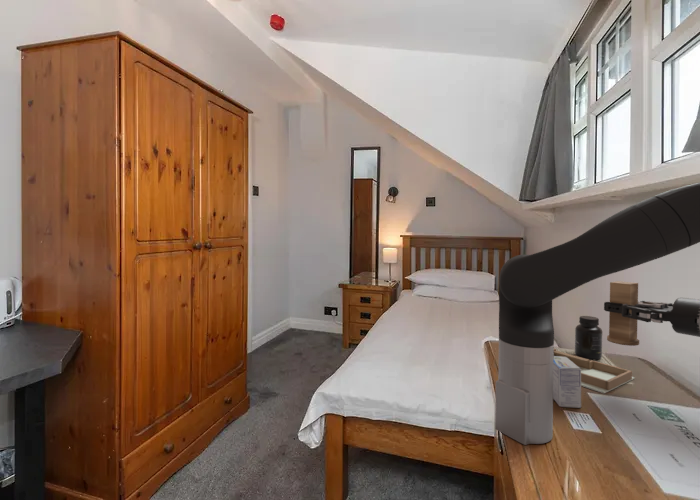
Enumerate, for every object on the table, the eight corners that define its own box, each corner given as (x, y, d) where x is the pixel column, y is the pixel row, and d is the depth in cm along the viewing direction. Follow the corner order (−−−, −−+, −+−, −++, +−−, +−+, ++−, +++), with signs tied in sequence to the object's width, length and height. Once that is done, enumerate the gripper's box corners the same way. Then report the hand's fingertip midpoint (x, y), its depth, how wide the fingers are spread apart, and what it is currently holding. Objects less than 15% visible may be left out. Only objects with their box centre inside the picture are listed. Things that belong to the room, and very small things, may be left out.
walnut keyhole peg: (632, 347, 78) (633, 285, 78) (602, 340, 83) (603, 282, 83) (644, 342, 81) (645, 283, 81) (614, 336, 86) (615, 280, 86)
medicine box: (581, 409, 74) (582, 368, 74) (558, 407, 75) (559, 367, 75) (566, 392, 82) (567, 356, 81) (545, 391, 83) (546, 355, 82)
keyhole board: (604, 393, 81) (604, 379, 81) (526, 367, 97) (526, 355, 97) (634, 378, 89) (635, 365, 89) (558, 357, 105) (558, 345, 105)
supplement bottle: (569, 354, 108) (569, 315, 108) (585, 351, 110) (586, 314, 110) (590, 361, 101) (591, 320, 101) (607, 359, 103) (608, 319, 103)
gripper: (720, 297, 73) (623, 287, 88) (695, 304, 66) (594, 292, 81) (719, 332, 73) (622, 316, 88) (694, 343, 66) (594, 324, 81)
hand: (609, 305), depth 84 cm, fingers closed on walnut keyhole peg, 4 cm apart
